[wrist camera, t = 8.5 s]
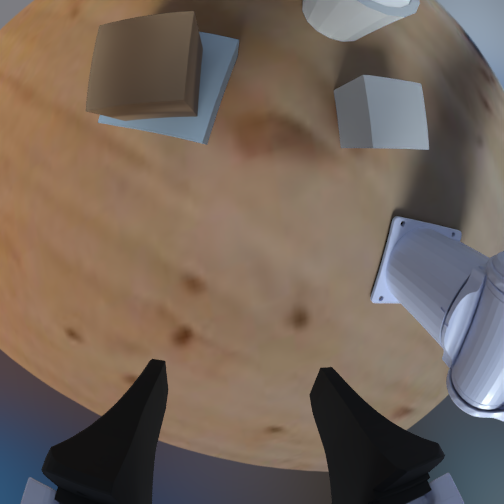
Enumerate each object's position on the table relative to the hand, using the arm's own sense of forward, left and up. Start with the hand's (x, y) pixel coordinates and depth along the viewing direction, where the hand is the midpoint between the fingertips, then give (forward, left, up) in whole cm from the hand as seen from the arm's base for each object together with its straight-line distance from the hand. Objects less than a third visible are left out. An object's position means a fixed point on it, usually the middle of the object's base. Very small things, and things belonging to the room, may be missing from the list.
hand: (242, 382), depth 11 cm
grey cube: (-8, -14, -10) cm, 19 cm away
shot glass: (-5, -23, -11) cm, 26 cm away
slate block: (+6, -14, -11) cm, 19 cm away
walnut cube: (+6, -14, -7) cm, 17 cm away
